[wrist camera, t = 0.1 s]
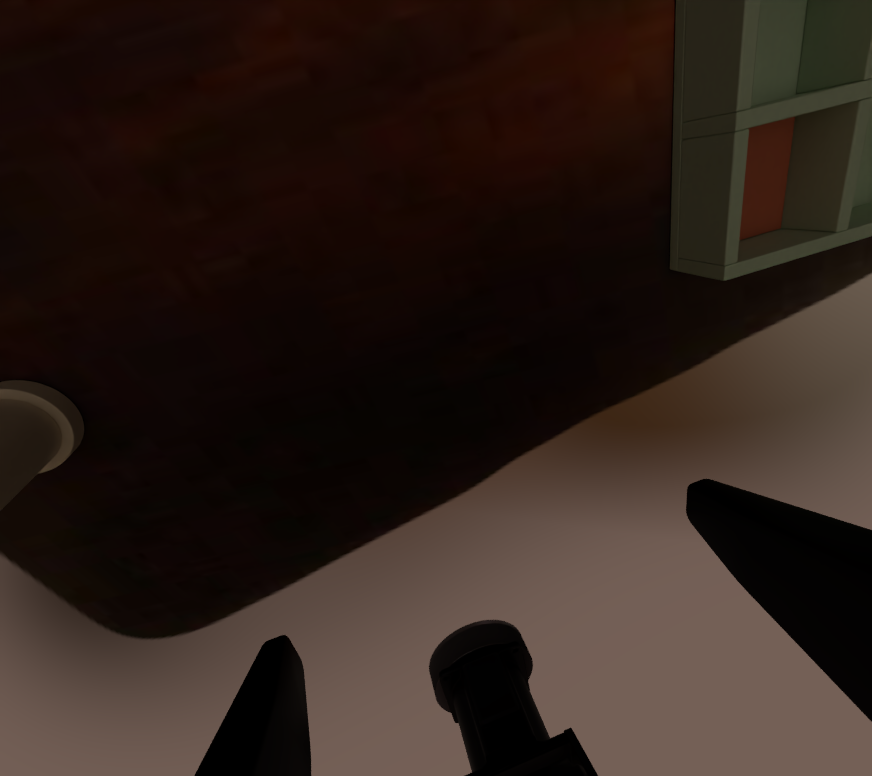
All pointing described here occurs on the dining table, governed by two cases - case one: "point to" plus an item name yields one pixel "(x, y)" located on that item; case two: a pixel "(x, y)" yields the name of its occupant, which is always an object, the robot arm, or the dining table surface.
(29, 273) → the dining table surface
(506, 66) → the dining table surface
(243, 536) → the dining table surface
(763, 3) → the grid
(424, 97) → the dining table surface
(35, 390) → the beige rounded cylinder
